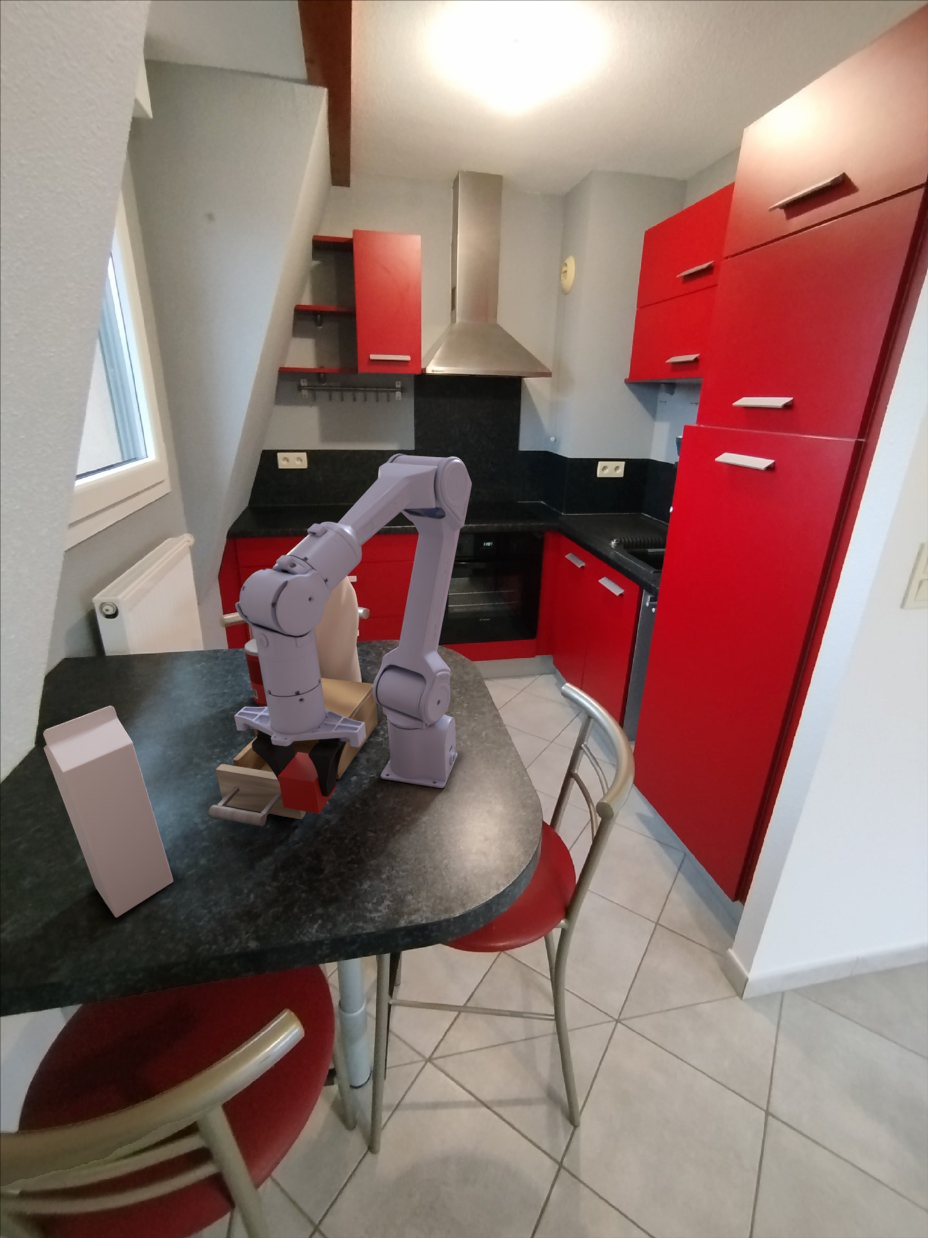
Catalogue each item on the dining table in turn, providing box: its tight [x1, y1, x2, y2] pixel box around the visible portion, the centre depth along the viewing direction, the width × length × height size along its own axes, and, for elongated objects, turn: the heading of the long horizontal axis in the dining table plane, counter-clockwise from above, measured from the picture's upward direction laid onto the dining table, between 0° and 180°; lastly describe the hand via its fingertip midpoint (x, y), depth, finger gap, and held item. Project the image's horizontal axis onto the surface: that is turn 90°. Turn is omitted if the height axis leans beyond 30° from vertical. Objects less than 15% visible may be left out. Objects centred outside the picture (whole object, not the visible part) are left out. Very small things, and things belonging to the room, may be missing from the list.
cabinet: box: [253, 678, 379, 780], centre depth 82 cm, size 15×13×8 cm
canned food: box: [244, 638, 268, 707], centre depth 95 cm, size 8×8×11 cm
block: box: [278, 752, 338, 814], centre depth 60 cm, size 4×4×4 cm
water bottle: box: [314, 575, 363, 683], centre depth 96 cm, size 10×9×28 cm
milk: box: [42, 705, 174, 919], centre depth 55 cm, size 6×6×22 cm
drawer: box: [208, 737, 319, 827], centre depth 71 cm, size 18×11×6 cm, turn 166°
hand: (309, 787), depth 61 cm, fingers closed on block, 4 cm apart
